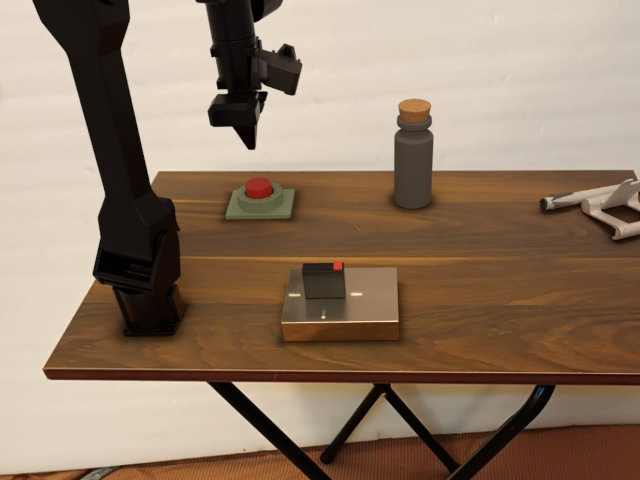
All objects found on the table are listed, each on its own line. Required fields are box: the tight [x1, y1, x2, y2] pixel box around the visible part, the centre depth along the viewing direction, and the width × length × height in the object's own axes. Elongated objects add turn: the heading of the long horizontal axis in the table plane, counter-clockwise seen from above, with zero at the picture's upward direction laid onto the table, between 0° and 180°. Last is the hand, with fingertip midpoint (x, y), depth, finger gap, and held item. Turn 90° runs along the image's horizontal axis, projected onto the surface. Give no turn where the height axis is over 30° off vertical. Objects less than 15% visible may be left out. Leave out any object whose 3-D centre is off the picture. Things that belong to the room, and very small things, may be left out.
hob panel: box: [280, 266, 400, 342], centre depth 80 cm, size 14×11×3 cm
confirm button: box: [244, 177, 272, 199], centre depth 98 cm, size 4×4×2 cm
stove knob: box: [301, 260, 346, 298], centre depth 77 cm, size 5×2×4 cm, turn 90°
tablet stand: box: [580, 178, 640, 241], centre depth 94 cm, size 9×8×8 cm
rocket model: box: [538, 180, 640, 211], centre depth 99 cm, size 2×2×30 cm
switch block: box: [224, 181, 296, 220], centre depth 99 cm, size 10×8×2 cm
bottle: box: [393, 98, 435, 210], centre depth 95 cm, size 6×6×15 cm
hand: (252, 148), depth 94 cm, fingers closed
